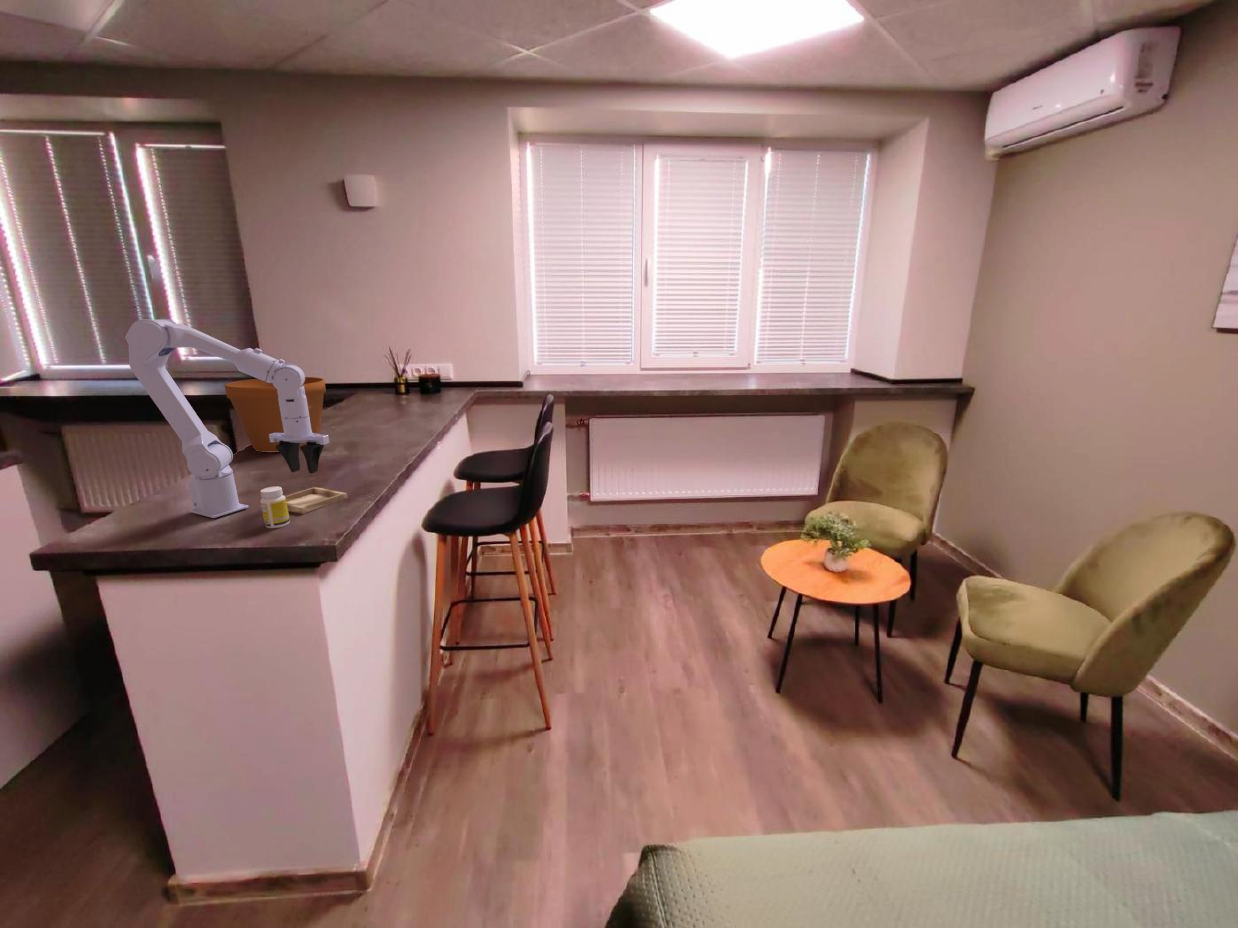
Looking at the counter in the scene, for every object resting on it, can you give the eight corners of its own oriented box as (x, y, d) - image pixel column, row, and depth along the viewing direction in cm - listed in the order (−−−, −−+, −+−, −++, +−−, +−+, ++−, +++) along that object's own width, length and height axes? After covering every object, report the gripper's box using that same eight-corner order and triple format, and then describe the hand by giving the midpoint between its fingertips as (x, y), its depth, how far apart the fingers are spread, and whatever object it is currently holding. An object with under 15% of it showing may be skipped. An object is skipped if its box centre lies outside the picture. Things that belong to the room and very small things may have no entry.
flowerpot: (291, 464, 167) (279, 388, 161) (216, 459, 173) (201, 386, 166) (351, 443, 194) (342, 378, 187) (285, 439, 199) (274, 376, 193)
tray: (270, 507, 130) (269, 500, 130) (315, 493, 141) (314, 486, 140) (303, 515, 125) (302, 508, 125) (347, 499, 136) (346, 493, 135)
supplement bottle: (294, 520, 123) (288, 485, 120) (284, 528, 118) (277, 492, 116) (271, 521, 122) (265, 486, 120) (260, 529, 118) (253, 492, 115)
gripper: (254, 418, 125) (265, 474, 128) (310, 421, 122) (319, 478, 126) (278, 413, 131) (287, 466, 135) (331, 415, 129) (339, 469, 133)
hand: (304, 471), depth 131 cm, fingers open, 4 cm apart
